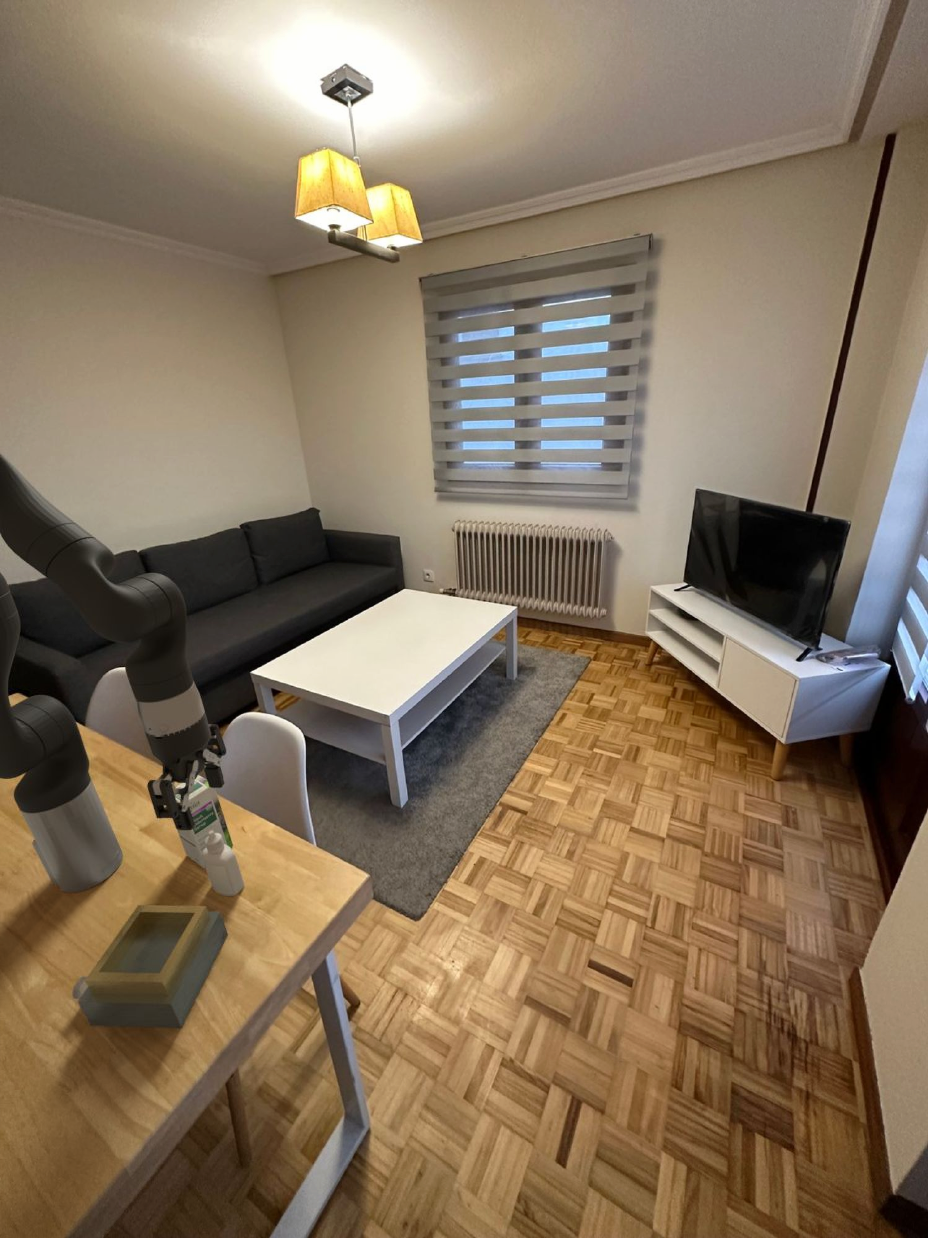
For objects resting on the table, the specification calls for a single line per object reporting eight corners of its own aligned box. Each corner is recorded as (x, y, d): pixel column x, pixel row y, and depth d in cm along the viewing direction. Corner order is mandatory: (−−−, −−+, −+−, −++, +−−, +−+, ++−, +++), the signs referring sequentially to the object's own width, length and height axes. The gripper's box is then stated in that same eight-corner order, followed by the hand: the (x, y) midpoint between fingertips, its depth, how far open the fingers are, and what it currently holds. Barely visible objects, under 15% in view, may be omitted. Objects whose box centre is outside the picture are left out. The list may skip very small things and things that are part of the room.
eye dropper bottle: (218, 906, 76) (199, 851, 72) (210, 882, 80) (192, 828, 76) (246, 890, 79) (230, 836, 74) (237, 867, 83) (221, 814, 78)
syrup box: (204, 870, 83) (182, 805, 77) (185, 855, 86) (162, 792, 80) (233, 846, 87) (215, 783, 81) (214, 833, 90) (195, 772, 84)
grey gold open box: (68, 1025, 62) (47, 988, 59) (131, 933, 73) (116, 898, 70) (181, 1028, 61) (165, 991, 58) (228, 934, 72) (216, 899, 69)
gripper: (178, 690, 73) (204, 774, 80) (111, 749, 60) (149, 844, 67) (225, 689, 73) (248, 774, 79) (169, 749, 60) (201, 845, 66)
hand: (202, 806), depth 73 cm, fingers open, 8 cm apart
